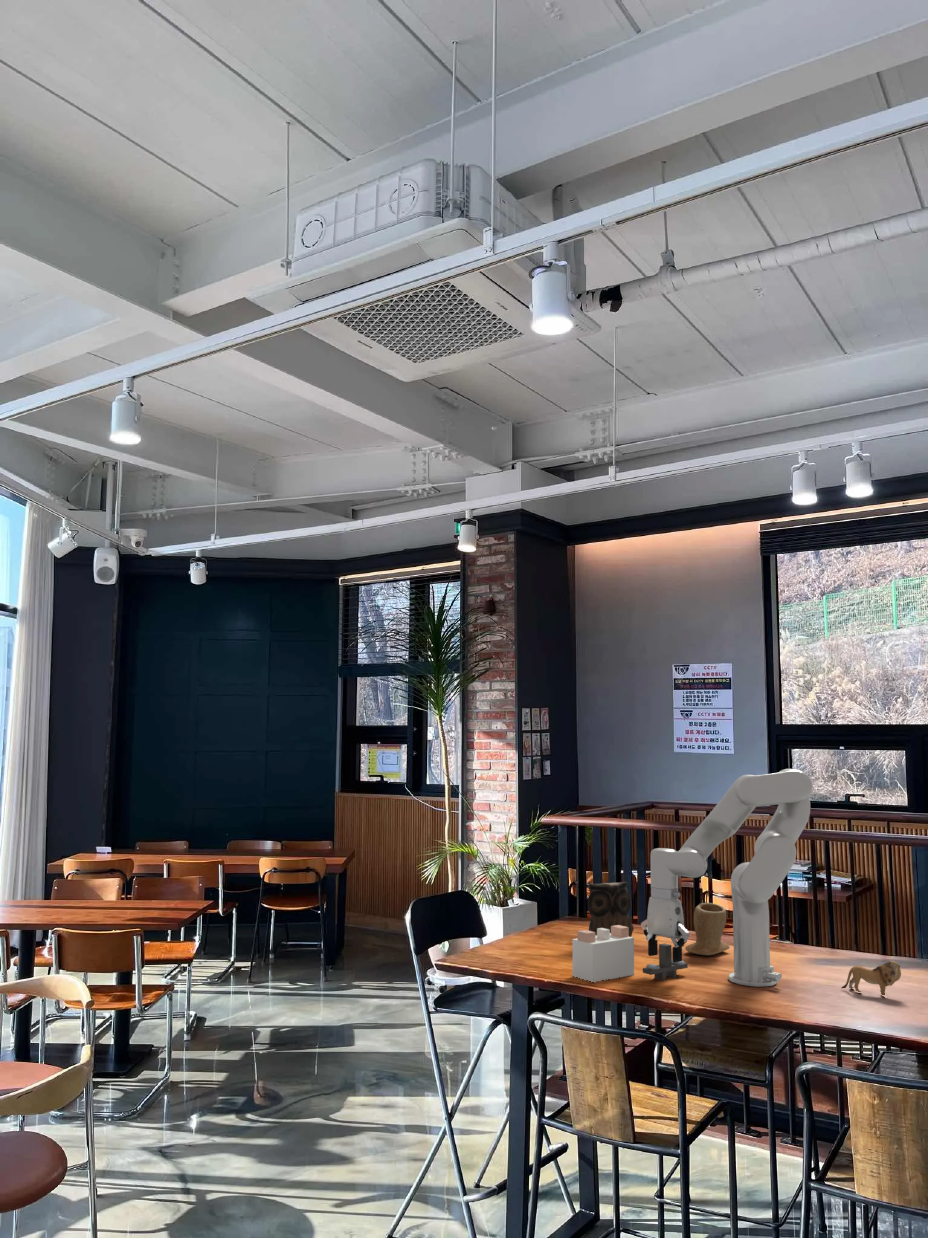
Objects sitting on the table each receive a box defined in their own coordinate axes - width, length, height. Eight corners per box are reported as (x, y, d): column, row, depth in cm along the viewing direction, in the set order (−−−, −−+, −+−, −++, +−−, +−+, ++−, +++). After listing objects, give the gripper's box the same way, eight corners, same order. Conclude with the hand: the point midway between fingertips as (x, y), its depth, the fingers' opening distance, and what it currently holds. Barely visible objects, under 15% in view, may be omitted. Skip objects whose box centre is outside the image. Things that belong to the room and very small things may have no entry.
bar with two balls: (688, 975, 262) (688, 943, 263) (651, 983, 253) (651, 949, 254) (678, 972, 265) (678, 940, 266) (641, 980, 256) (641, 946, 257)
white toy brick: (634, 975, 262) (633, 928, 263) (592, 982, 252) (592, 934, 254) (613, 969, 268) (613, 924, 270) (572, 976, 259) (572, 929, 260)
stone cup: (714, 960, 280) (713, 909, 282) (680, 954, 289) (679, 904, 291) (740, 953, 291) (739, 903, 293) (706, 947, 299) (705, 898, 301)
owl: (635, 945, 299) (634, 881, 302) (616, 952, 289) (616, 886, 292) (599, 940, 307) (599, 877, 309) (580, 946, 297) (580, 882, 299)
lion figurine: (902, 996, 244) (901, 960, 245) (901, 1000, 239) (900, 964, 240) (842, 988, 251) (840, 953, 252) (840, 993, 246) (838, 957, 247)
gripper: (697, 897, 257) (698, 963, 255) (650, 888, 271) (650, 951, 269) (679, 899, 253) (680, 966, 250) (632, 890, 267) (632, 954, 264)
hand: (664, 958), depth 260 cm, fingers open, 8 cm apart
